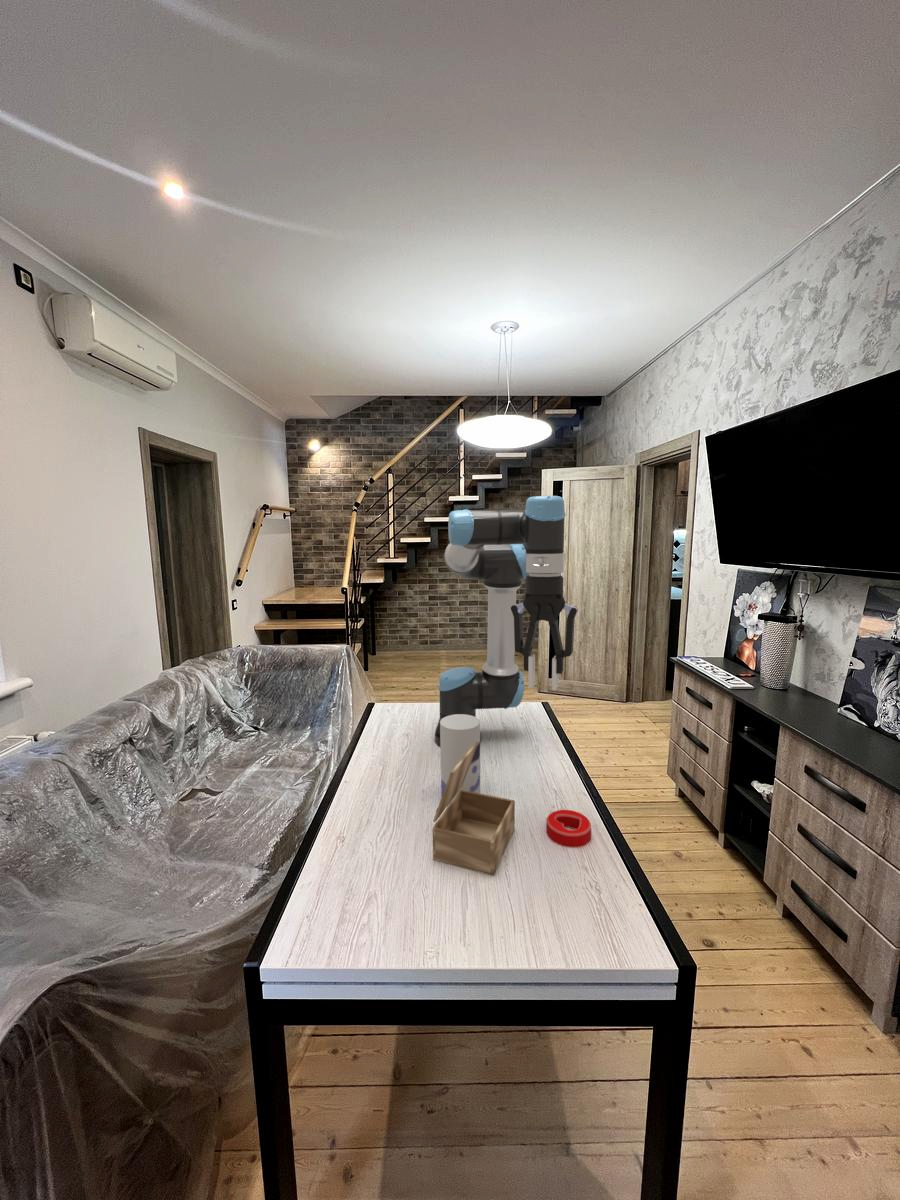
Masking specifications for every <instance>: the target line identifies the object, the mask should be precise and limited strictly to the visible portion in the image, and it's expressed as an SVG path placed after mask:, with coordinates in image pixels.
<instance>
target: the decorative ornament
mask: <svg viewBox="0 0 900 1200" xmlns="http://www.w3.org/2000/svg"><path fill="white" fill-rule="evenodd" d="M567 828H572V829H567ZM545 831H546V834H547V836H548V838H549V839H550V840H551V841H552V842H554V843H555V844H557V845H559V846H562V847H566V848H580V847H583V846H586V845H587V844H588V843H589V842H590V841H591V839H592V824H591V821H590V820H589V818H588V817H587V816H586V815H584V814H583V813H580V812H578V811H575V810H572V809H571V810H570V809H558V810H555V811H553V812H551V813H549V814H548V816H547V817H546V829H545Z"/></svg>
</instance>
